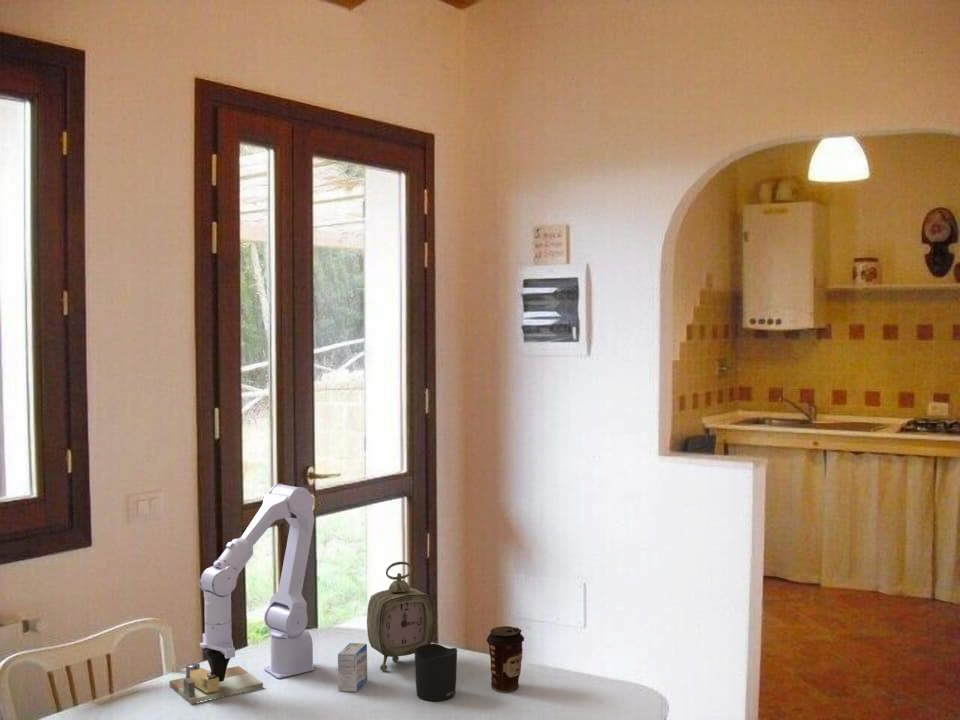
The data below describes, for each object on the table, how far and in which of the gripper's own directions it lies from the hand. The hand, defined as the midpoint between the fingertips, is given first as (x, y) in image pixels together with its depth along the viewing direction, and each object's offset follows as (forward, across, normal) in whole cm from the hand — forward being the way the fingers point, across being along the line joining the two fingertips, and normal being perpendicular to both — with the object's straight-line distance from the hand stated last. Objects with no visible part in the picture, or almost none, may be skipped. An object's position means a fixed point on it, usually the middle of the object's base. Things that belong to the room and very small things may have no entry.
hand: (218, 681), depth 212 cm
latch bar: (0, -2, -3) cm, 4 cm away
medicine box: (+3, +15, +26) cm, 30 cm away
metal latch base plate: (+2, -3, +1) cm, 4 cm away
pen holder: (+3, +30, +38) cm, 49 cm away
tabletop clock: (+3, +8, +42) cm, 43 cm away
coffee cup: (+3, +36, +53) cm, 64 cm away
